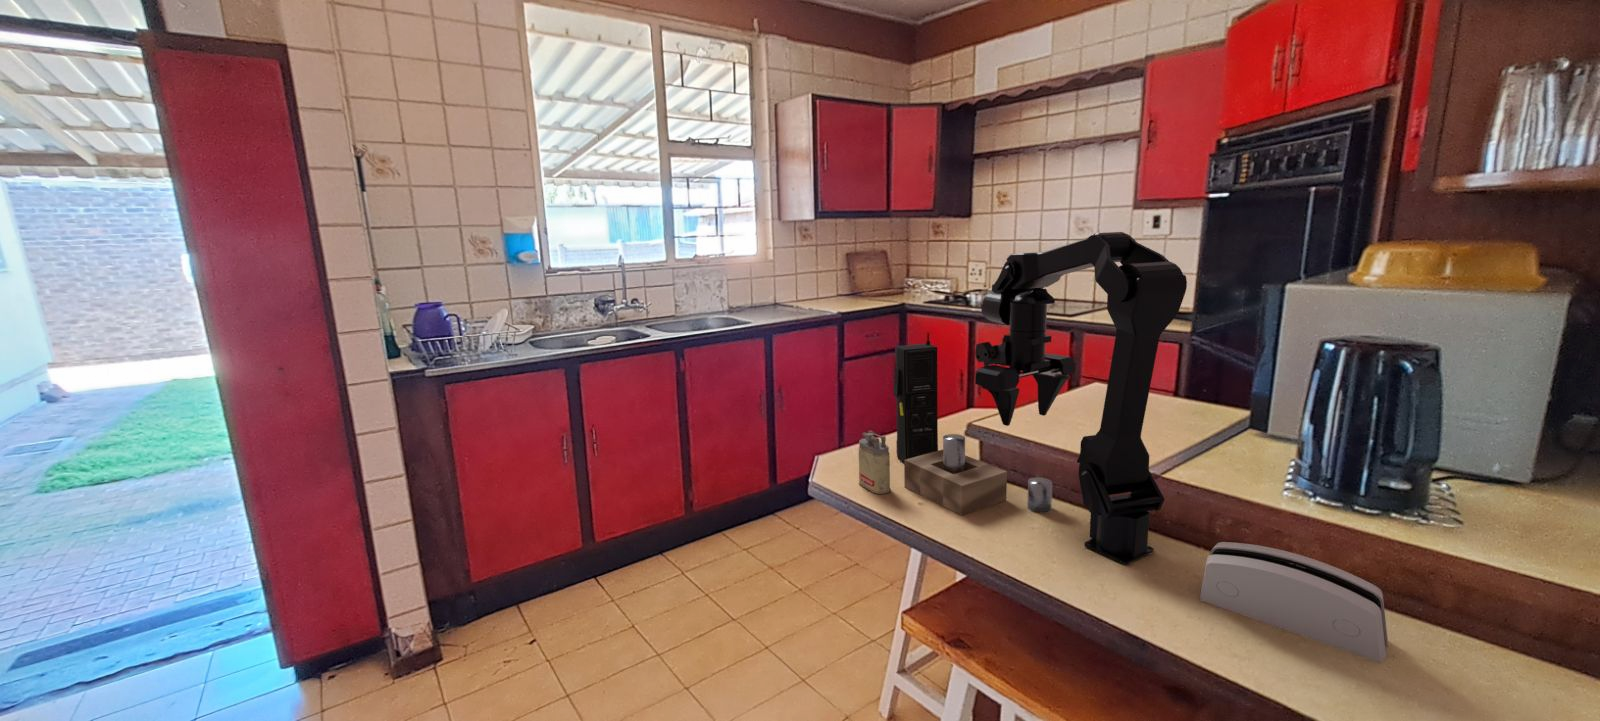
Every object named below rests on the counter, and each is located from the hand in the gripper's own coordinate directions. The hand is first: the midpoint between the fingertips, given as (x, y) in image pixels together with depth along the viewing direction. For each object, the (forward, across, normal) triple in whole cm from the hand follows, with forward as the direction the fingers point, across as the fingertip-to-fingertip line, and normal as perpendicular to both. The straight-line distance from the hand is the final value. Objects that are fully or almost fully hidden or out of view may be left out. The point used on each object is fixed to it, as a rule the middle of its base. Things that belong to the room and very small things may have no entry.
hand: (1024, 420), depth 108 cm
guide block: (+12, +12, -5) cm, 17 cm away
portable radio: (+12, +6, -21) cm, 25 cm away
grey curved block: (+12, +8, +42) cm, 45 cm away
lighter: (+12, +20, -15) cm, 28 cm away
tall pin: (+12, +12, -5) cm, 17 cm away
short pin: (+12, +5, +7) cm, 15 cm away
